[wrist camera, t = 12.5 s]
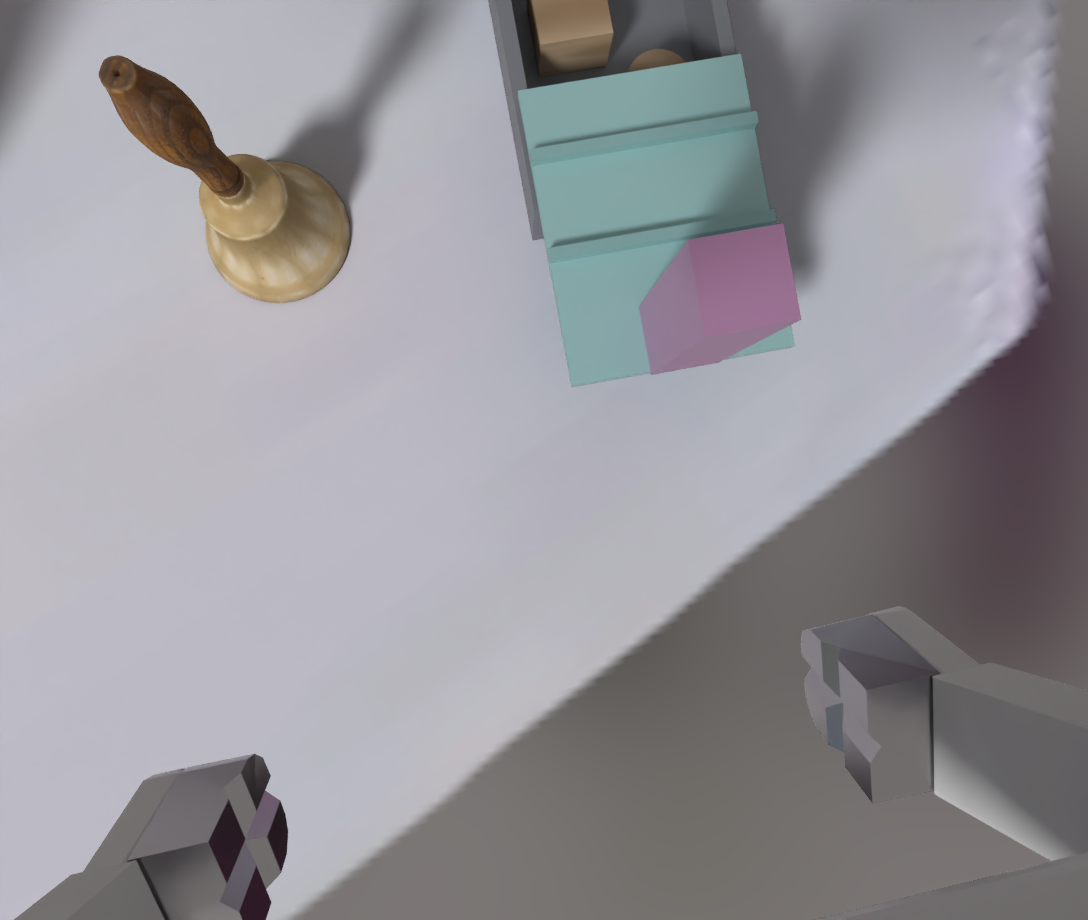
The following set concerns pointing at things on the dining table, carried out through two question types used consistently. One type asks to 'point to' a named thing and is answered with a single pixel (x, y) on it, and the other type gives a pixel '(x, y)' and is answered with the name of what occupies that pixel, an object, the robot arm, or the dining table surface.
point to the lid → (658, 220)
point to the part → (569, 34)
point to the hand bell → (238, 193)
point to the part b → (655, 60)
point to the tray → (638, 26)
